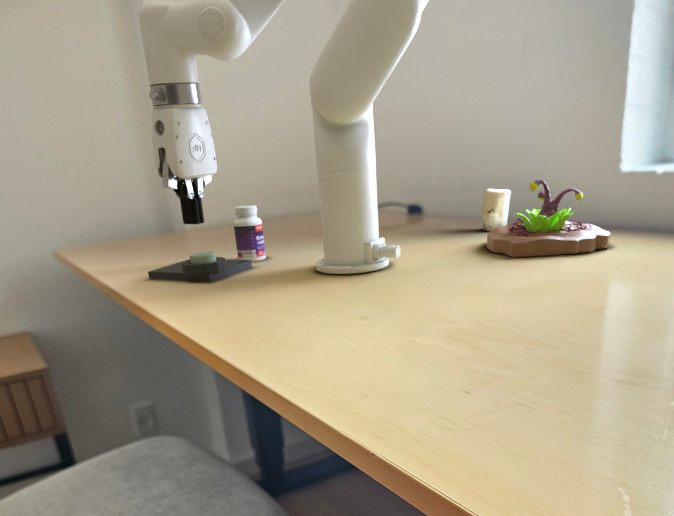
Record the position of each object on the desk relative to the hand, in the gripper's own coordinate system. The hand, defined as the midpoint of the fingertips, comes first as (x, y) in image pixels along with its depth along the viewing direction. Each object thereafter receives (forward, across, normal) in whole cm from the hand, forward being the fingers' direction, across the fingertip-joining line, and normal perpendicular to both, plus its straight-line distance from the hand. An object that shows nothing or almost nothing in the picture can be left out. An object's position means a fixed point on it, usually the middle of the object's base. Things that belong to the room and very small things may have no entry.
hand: (193, 223), depth 109 cm
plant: (+8, +35, -50) cm, 61 cm away
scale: (+9, +4, +3) cm, 11 cm away
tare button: (+7, 0, -1) cm, 7 cm away
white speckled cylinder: (+8, +53, -36) cm, 64 cm away
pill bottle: (+9, +17, +1) cm, 19 cm away
